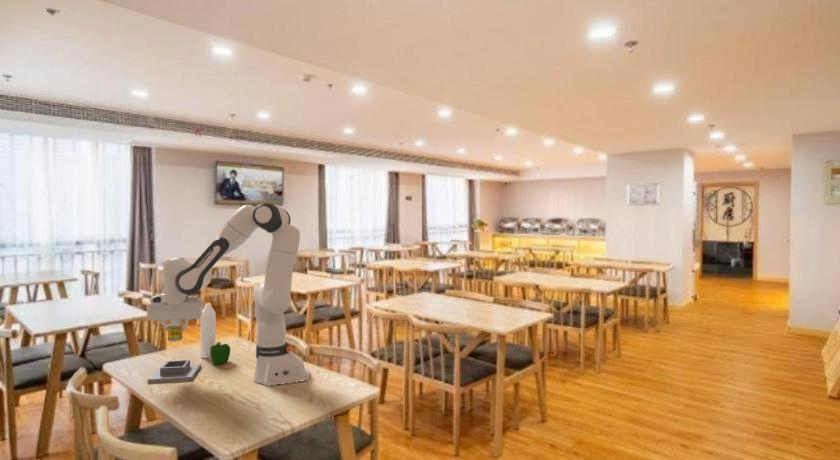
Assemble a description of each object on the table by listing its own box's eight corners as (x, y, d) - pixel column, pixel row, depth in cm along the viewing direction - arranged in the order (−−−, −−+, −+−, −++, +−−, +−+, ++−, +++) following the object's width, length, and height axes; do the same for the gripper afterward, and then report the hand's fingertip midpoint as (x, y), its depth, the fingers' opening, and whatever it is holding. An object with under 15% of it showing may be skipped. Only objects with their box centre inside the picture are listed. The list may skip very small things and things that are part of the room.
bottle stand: (200, 366, 203) (200, 356, 203) (191, 380, 188) (191, 369, 187) (160, 368, 200) (160, 358, 199) (147, 383, 184) (147, 371, 184)
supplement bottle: (181, 337, 196) (181, 315, 196) (183, 341, 192) (183, 317, 192) (167, 339, 193) (167, 316, 193) (168, 342, 189) (168, 319, 189)
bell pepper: (219, 358, 214) (219, 337, 213) (234, 361, 211) (233, 339, 211) (205, 364, 206) (205, 342, 206) (220, 367, 203) (220, 344, 203)
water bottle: (213, 353, 222) (213, 301, 221) (217, 356, 217) (217, 303, 215) (193, 356, 216) (193, 303, 215) (197, 360, 211) (197, 305, 210)
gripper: (204, 294, 197) (204, 327, 198) (150, 295, 193) (151, 328, 194) (200, 297, 191) (200, 331, 192) (145, 299, 187) (145, 333, 187)
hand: (175, 330), depth 193 cm, fingers closed on supplement bottle, 5 cm apart
